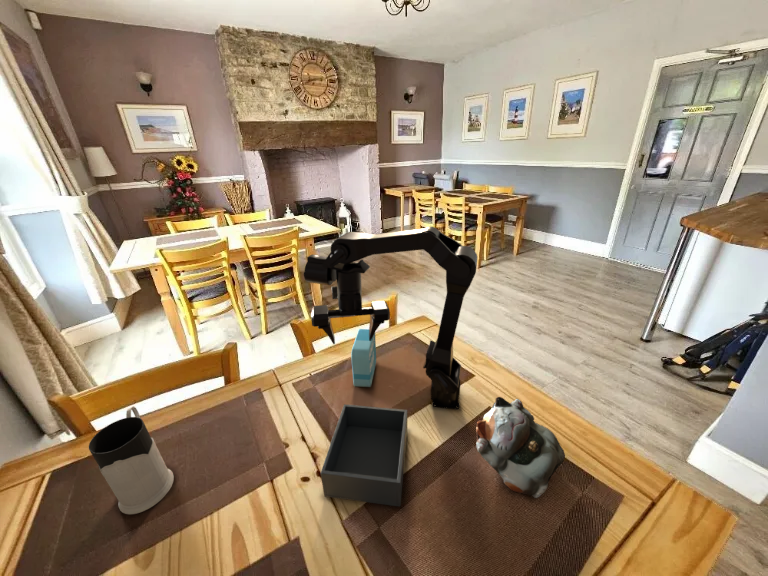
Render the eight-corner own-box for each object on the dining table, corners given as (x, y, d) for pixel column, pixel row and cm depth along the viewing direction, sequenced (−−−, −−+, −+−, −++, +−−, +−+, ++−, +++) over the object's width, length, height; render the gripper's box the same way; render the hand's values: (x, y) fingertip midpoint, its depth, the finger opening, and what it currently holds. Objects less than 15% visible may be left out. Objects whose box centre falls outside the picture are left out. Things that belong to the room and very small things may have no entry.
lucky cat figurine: (528, 514, 54) (495, 452, 51) (481, 476, 65) (453, 424, 62) (578, 455, 59) (551, 396, 56) (527, 430, 70) (502, 379, 68)
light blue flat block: (370, 389, 82) (368, 352, 77) (353, 388, 83) (350, 352, 78) (376, 361, 93) (375, 327, 88) (361, 360, 94) (359, 326, 89)
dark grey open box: (407, 431, 70) (407, 409, 67) (400, 506, 56) (400, 483, 53) (346, 425, 72) (343, 404, 69) (324, 496, 57) (320, 473, 55)
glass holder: (113, 523, 54) (75, 466, 48) (129, 458, 66) (101, 405, 59) (171, 499, 58) (143, 443, 51) (177, 441, 69) (155, 389, 63)
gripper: (382, 271, 82) (382, 322, 88) (310, 276, 79) (316, 328, 86) (390, 289, 72) (389, 345, 79) (308, 295, 69) (314, 352, 76)
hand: (352, 341), depth 80 cm, fingers open, 9 cm apart
